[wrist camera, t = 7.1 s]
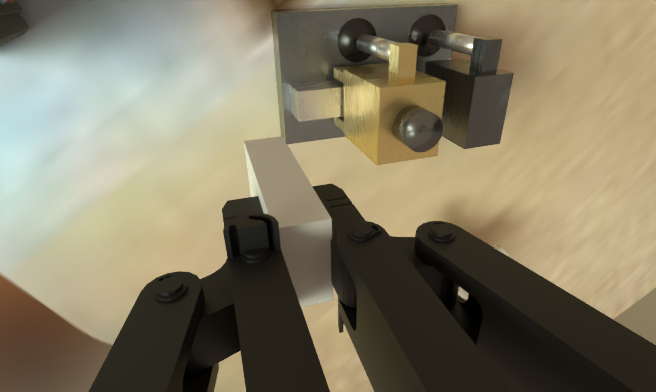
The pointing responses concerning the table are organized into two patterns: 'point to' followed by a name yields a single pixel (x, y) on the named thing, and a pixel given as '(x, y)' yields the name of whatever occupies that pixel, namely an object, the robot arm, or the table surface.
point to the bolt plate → (399, 26)
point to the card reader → (10, 21)
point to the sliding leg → (391, 104)
